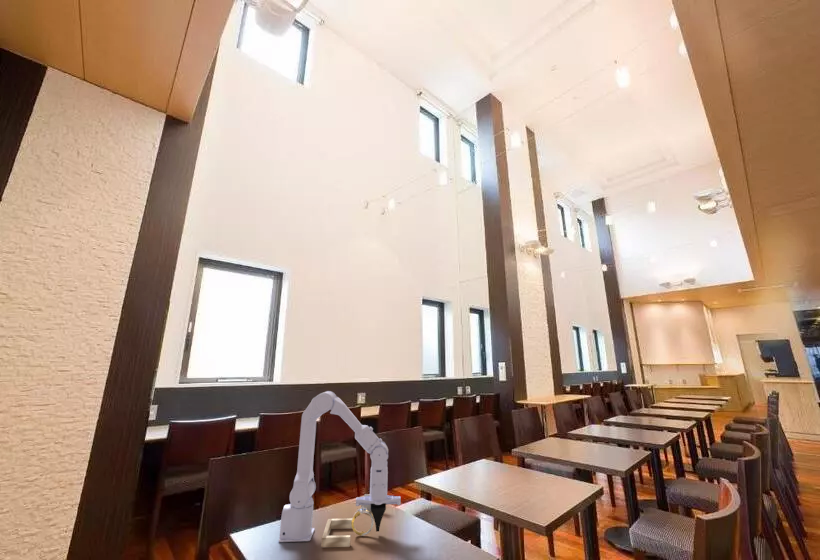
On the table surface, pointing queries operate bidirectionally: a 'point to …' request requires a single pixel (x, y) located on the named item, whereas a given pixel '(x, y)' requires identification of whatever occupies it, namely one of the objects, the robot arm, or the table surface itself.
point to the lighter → (367, 505)
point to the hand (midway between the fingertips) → (377, 530)
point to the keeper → (340, 539)
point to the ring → (361, 510)
